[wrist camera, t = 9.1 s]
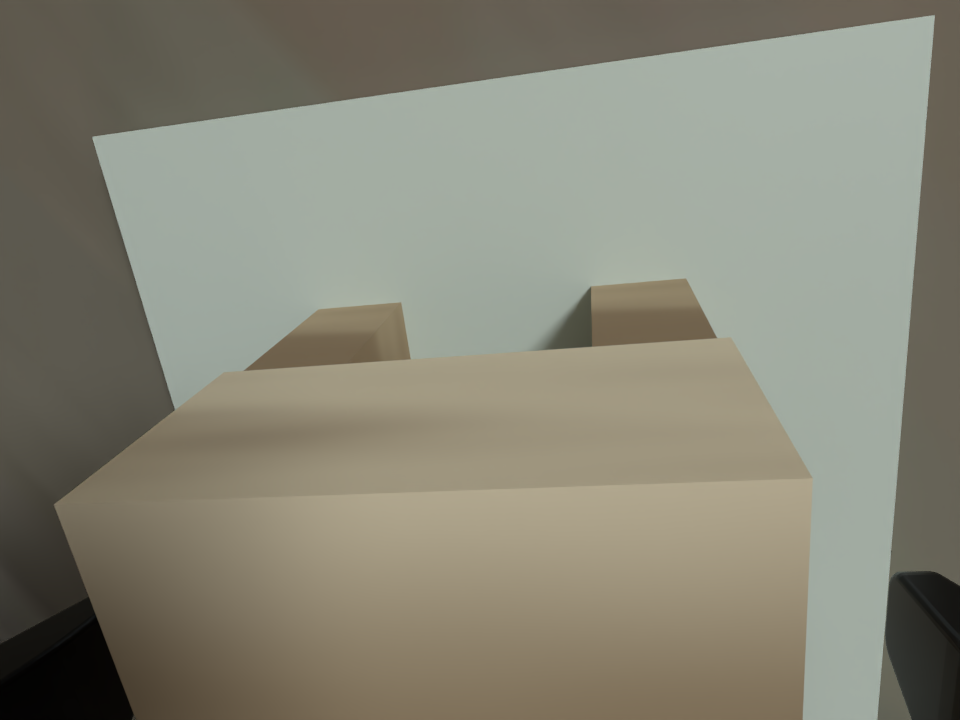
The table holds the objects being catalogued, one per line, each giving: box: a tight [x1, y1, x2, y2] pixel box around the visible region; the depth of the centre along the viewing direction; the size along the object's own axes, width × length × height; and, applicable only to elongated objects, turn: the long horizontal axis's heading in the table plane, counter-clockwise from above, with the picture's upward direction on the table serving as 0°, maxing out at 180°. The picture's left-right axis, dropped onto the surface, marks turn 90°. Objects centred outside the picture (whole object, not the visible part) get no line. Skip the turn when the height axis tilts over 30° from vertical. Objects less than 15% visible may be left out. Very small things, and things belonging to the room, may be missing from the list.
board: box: [92, 15, 935, 720], centre depth 12 cm, size 12×12×1 cm
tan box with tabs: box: [54, 278, 813, 720], centre depth 9 cm, size 6×6×6 cm
